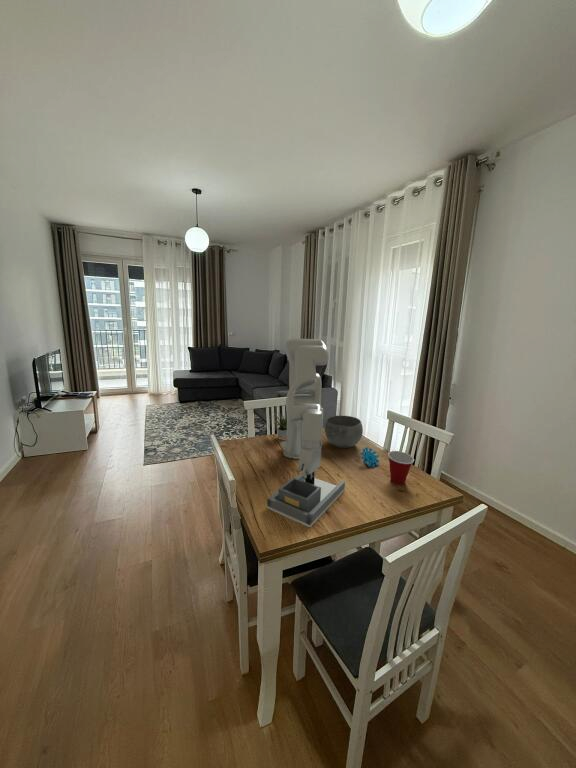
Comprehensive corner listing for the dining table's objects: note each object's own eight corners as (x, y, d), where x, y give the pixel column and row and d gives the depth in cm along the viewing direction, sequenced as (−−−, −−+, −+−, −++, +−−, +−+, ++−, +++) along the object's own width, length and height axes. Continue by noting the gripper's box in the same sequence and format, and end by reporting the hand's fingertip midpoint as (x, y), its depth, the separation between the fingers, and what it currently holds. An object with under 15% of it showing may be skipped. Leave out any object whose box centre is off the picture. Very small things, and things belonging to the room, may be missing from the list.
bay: (267, 508, 112) (267, 498, 111) (306, 477, 135) (307, 468, 134) (309, 527, 102) (310, 517, 101) (344, 490, 125) (345, 481, 124)
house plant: (264, 440, 174) (264, 413, 170) (274, 432, 186) (274, 406, 183) (287, 445, 169) (288, 416, 165) (296, 436, 181) (297, 410, 178)
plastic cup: (405, 491, 126) (408, 464, 123) (380, 481, 133) (383, 455, 131) (415, 481, 133) (418, 456, 131) (392, 472, 141) (394, 448, 138)
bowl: (342, 435, 184) (344, 412, 181) (369, 447, 167) (371, 421, 164) (316, 442, 172) (317, 417, 169) (341, 456, 156) (343, 428, 153)
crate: (277, 505, 112) (278, 489, 111) (293, 492, 121) (293, 477, 119) (305, 518, 106) (306, 500, 104) (320, 503, 114) (321, 487, 113)
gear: (366, 467, 142) (359, 446, 147) (359, 471, 146) (352, 451, 151) (384, 465, 147) (377, 446, 152) (376, 470, 151) (369, 450, 156)
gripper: (312, 433, 122) (310, 475, 126) (292, 446, 110) (290, 492, 114) (329, 438, 118) (326, 480, 122) (310, 452, 106) (308, 499, 110)
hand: (309, 486), depth 118 cm, fingers closed
